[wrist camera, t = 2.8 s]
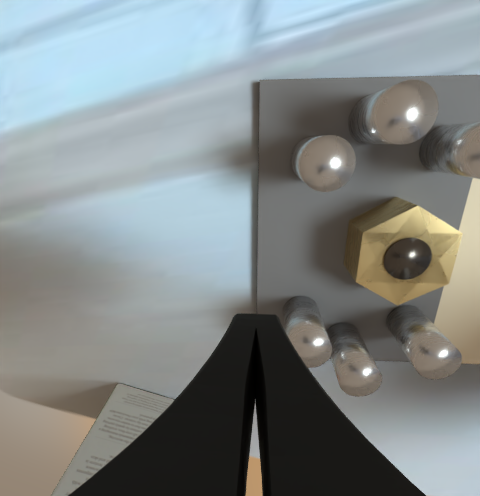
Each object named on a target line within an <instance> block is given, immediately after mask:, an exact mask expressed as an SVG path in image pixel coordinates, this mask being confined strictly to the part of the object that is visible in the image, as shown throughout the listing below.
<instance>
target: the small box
mask: <svg viewBox="0 0 480 496" xmlns="http://www.w3.org/2000/svg"><path fill="white" fill-rule="evenodd" d="M173 401H174V399H170V398H167V397H163V396H160V395H157V394H153V393H150V392H147V391H144V390H140V389H137V388H134V387H130V386H127V385H124V384H117V385H116V387H115V389H114V390H113V392H112V394H111V395H110V397H109V399H108V400H107V402H106V404H105V405H104V407H103V409H102V411H101V412H100V414H99V416H98V417H97V419H96V421H95V422H94V424H93V426H92V427H91V429H90V431H89V433H88V434H87V436H86V437H85V439H84V441H83V442H82V444H81V446H80V448H79V449H78V451H77V453H76V454H75V456H74V458H73V459H72V461H71V463H70V464H69V466H68V468H67V469H66V471H65V472H64V474H63V476H62V478H61V479H60V481H59V483H58V484H57V486H56V488H55V489H54V491H53V493H52V494H51V496H68V495H69V494H71V493H72V492H73V491H75V490H76V489H77V488H78V487H80V486H81V485H82V484H83V483H85V482H86V481H87V480H88V479H90V478H91V477H92V476H93V475H94V474H95V473H97V472H98V471H99V470H100V469H101V468H103V467H104V466H105V465H106V464H107V463H108V462H110V461H111V460H112V459H113V458H114V457H115V456H117V455H118V454H119V453H120V452H121V451H123V450H124V449H125V448H126V447H127V446H128V445H130V444H131V443H132V442H133V441H134V440H135V439H136V438H137V437H138V436H139V435H140V434H142V433H143V432H144V431H145V430H146V429H147V428H148V427H149V426H150V425H151V424H152V423H153V422H154V421H155V420H156V419H157V418H158V417H159V416H160V415H161V414H162V413H163V412H164V411H165V410H166V409H167V408H168V407H169V406H170V405H171V404H172V403H173Z"/></svg>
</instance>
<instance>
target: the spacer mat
mask: <svg viewBox="0 0 480 496" xmlns="http://www.w3.org/2000/svg"><path fill="white" fill-rule="evenodd" d="M412 79H415V80H421V81H424V82H426V83H428V84H429V85H430V86H431V87H432V88H433V89H434V90H435V92H436V94H437V97H438V103H439V109H438V114H437V118H436V120H435V122H434V124H433V126H432V127H431V129H430V130H429V131H428V132H427V133H426V134H425V135H424V136H423V137H422V138H420V139H418V140H417V141H415V142H412V143H409V144H365V143H361V142H359V141H357V140H356V139H355V138H354V137H353V136H352V135H351V133H350V131H349V126H348V120H349V115H350V112H351V110H352V109H353V107H354V106H355V104H356V103H357V102H358V101H360V100H361V99H362V98H364V97H366V96H369V95H371V94H374V93H376V92H378V91H381V90H383V89H386V88H388V87H391V86H393V85H395V84H398V83H400V82H403V81H406V80H412ZM476 122H480V75H455V76H411V77H367V78H324V79H280V80H260V101H259V179H258V257H257V314H272V315H277V316H278V317H279V319H280V322H281V324H282V326H283V328H284V330H285V323H284V316H283V307H284V305H285V303H286V302H287V301H288V300H289V299H291V298H293V297H295V296H307V297H310V298H311V299H313V300H314V301H315V302H316V304H317V306H318V309H319V312H320V314H321V317H322V320H323V323H324V326H325V328H326V330H327V329H328V328H329V327H330V326H331V325H333V324H335V323H339V322H347V323H351V324H353V325H354V326H355V327H356V328H357V329H358V331H359V333H360V335H361V337H362V339H363V341H364V343H365V344H366V346H367V348H368V350H369V352H370V354H371V356H372V358H373V360H376V361H404V362H411V361H410V360H409V359H408V357H407V356H406V354H405V353H404V351H403V350H402V348H401V347H400V345H399V344H398V343H397V341H396V340H395V338H394V337H393V335H392V334H391V332H390V331H389V329H388V328H387V326H386V317H387V315H388V314H389V312H390V311H391V310H393V309H394V308H396V307H398V306H401V305H413V306H415V307H417V308H419V309H420V310H421V311H422V313H423V314H424V315H425V316H426V317H427V318H428V319H429V320H430V321H431V322H432V323H433V324H434V325H435V326H436V327H437V328H438V329H439V330H440V331H441V332H442V333H443V334H444V336H445V337H446V338H447V339H448V340H449V341H450V342H451V343H452V344H453V345H454V346H455V347H456V348H457V349H458V350H459V351H460V353H461V355H462V363H461V364H480V179H477V178H471V177H465V176H459V175H453V174H447V173H442V172H436V171H431V170H428V169H427V168H425V167H424V166H423V165H422V163H421V161H420V158H419V149H420V145H421V143H422V141H423V139H424V138H425V136H426V135H427V134H428V133H429V132H431V131H432V130H433V129H435V128H437V127H439V126H443V125H453V124H464V123H476ZM325 135H335V136H339V137H342V138H343V139H345V140H346V141H348V142H349V143H350V145H351V146H352V148H353V150H354V152H355V157H356V165H355V169H354V172H353V174H352V176H351V178H350V179H349V181H348V182H347V183H346V184H345V185H343V186H342V187H341V188H339V189H337V190H334V191H331V192H320V191H316V190H314V189H312V188H310V187H309V186H308V185H307V184H306V183H304V182H303V181H302V180H301V179H300V178H299V177H298V176H297V175H296V174H295V173H294V172H293V170H292V167H291V163H290V158H291V153H292V151H293V149H294V147H295V146H296V145H297V143H299V142H300V141H301V140H303V139H305V138H307V137H313V136H325ZM394 197H398V198H401V199H403V200H406V201H408V202H411V203H413V204H416V205H418V206H420V207H421V208H423V209H424V210H426V211H428V212H429V213H431V214H432V215H434V216H436V217H437V218H439V219H440V220H442V221H444V222H445V223H447V224H448V225H450V226H452V227H453V228H455V229H456V230H458V231H460V232H461V233H463V235H462V238H461V242H460V246H459V249H458V253H457V257H456V260H455V264H454V268H453V271H452V275H451V279H450V282H449V284H448V285H445V286H443V287H440V288H438V289H436V290H433V291H431V292H428V293H426V294H424V295H421V296H419V297H417V298H414V299H412V300H409V301H407V302H405V303H402V304H400V305H395V304H394V303H392V302H390V301H388V300H387V299H385V298H383V297H381V296H380V295H378V294H376V293H374V292H373V291H371V290H369V289H367V288H365V287H364V286H362V285H360V284H358V283H357V282H355V280H354V279H353V277H352V276H351V274H350V273H349V271H348V270H347V268H346V267H345V266H344V256H345V248H346V240H347V233H348V225H349V220H351V219H353V218H355V217H357V216H359V215H361V214H363V213H364V212H366V211H368V210H370V209H372V208H374V207H376V206H378V205H380V204H382V203H384V202H386V201H388V200H390V199H392V198H394ZM285 332H286V330H285ZM329 359H331V358H329Z"/></svg>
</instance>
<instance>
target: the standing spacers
mask: <svg viewBox="0 0 480 496" xmlns="http://www.w3.org/2000/svg"><path fill="white" fill-rule="evenodd" d="M438 109H439V103H438V97H437V94H436V92H435V90H434V89H433V88H432V87H431V86H430V85H429V84H428V83H426V82H424V81H421V80H415V79H412V80H406V81H403V82H400V83H398V84H395V85H393V86H391V87H388V88H386V89H383V90H381V91H378V92H376V93H374V94H371V95H369V96H366V97H364V98H362V99H361V100H360V101H358V102H357V103H356V104H355V106H354V107H353V109H352V110H351V112H350V115H349V120H348V126H349V131H350V133H351V135H352V136H353V137H354V138H355V139H356V140H357V141H359V142H361V143H365V144H409V143H412V142H415V141H417V140H418V139H420V138H422V137H423V136H424V135H425V134H426V133H427V132H428V131H429V130H430V129H431V127H432V126H433V124H434V122H435V120H436V118H437V114H438ZM419 158H420V161H421V163H422V165H423V166H424V167H425V168H427V169H428V170H431V171H436V172H442V173H447V174H453V175H459V176H465V177H471V178H477V179H480V122H476V123H464V124H453V125H443V126H439V127H437V128H435V129H433V130H432V131H431V132H429V133H428V134H427V135H426V136H425V138H424V139H423V141H422V143H421V145H420V149H419ZM290 163H291V167H292V170H293V172H294V173H295V174H296V175H297V176H298V177H299V178H300V179H301V180H302V181H303V182H304V183H306V184H307V185H308V186H309V187H310V188H312V189H314V190H316V191H320V192H331V191H334V190H337V189H339V188H341V187H342V186H343V185H345V184H346V183H347V182H348V181H349V179H350V178H351V176H352V174H353V172H354V169H355V165H356V157H355V152H354V150H353V148H352V146H351V145H350V143H349V142H348V141H346V140H345V139H343V138H342V137H339V136H335V135H325V136H313V137H307V138H305V139H303V140H301V141H300V142H299V143H297V145H296V146H295V147H294V149H293V151H292V153H291V158H290ZM283 316H284V323H285V330H286V334H287V336H288V338H289V339H290V341H291V343H292V345H293V346H294V348H295V349H296V351H297V353H298V354H299V356H300V357H301V359H302V360H303V362H304V363H305V365H306V366H307V368H312V367H317V366H320V365H322V364H324V363H325V362H326V361H327V360H328V359H329V358H331V361H332V364H333V367H334V370H335V373H336V376H337V379H338V382H339V385H340V387H341V389H342V390H343V391H344V392H345V393H347V394H349V395H352V396H366V395H369V394H371V393H373V392H375V391H376V390H377V389H378V388H379V387H380V385H381V382H382V376H381V373H380V371H379V369H378V367H377V365H376V364H375V362H374V360H373V358H372V356H371V354H370V352H369V350H368V348H367V346H366V344H365V343H364V341H363V339H362V337H361V335H360V333H359V331H358V329H357V328H356V327H355V326H354V325H353V324H351V323H347V322H339V323H335V324H333V325H331V326H330V327H329V328H328V329H327V330H326V328H325V326H324V323H323V320H322V317H321V314H320V312H319V309H318V306H317V304H316V302H315V301H314V300H313V299H311V298H310V297H307V296H295V297H293V298H291V299H289V300H288V301H287V302H286V303H285V305H284V307H283ZM386 326H387V328H388V329H389V331H390V332H391V334H392V335H393V337H394V338H395V340H396V341H397V343H398V344H399V345H400V347H401V348H402V350H403V351H404V353H405V354H406V356H407V357H408V359H409V360H410V361H411V363H412V364H413V366H414V367H415V369H416V370H417V372H418V373H419V374H420V375H421V376H423V377H425V378H428V379H442V378H445V377H448V376H450V375H452V374H453V373H454V372H456V371H457V370H458V368H459V367H460V365H461V363H462V355H461V353H460V351H459V350H458V349H457V348H456V347H455V346H454V345H453V344H452V343H451V342H450V341H449V340H448V339H447V338H446V337H445V336H444V334H443V333H442V332H441V331H440V330H439V329H438V328H437V327H436V326H435V325H434V324H433V323H432V322H431V321H430V320H429V319H428V318H427V317H426V316H425V315H424V314H423V313H422V311H421V310H420V309H419V308H417V307H415V306H413V305H401V306H398V307H396V308H394V309H393V310H391V311H390V312H389V314H388V315H387V317H386Z"/></svg>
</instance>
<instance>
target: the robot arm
mask: <svg viewBox="0 0 480 496" xmlns="http://www.w3.org/2000/svg"><path fill="white" fill-rule="evenodd" d="M255 400H256V413H257V425H258V437H259V449H260V461H261V473H262V490H263V496H426V495H425V494H424V493H423V492H422V491H420V490H419V489H418V488H417V487H416V486H415V485H414V484H413V483H411V482H410V481H409V480H408V479H407V478H406V477H405V476H404V475H403V474H402V473H401V472H400V471H399V470H398V469H397V468H396V467H395V466H394V465H393V464H392V463H391V462H390V461H389V460H388V459H387V458H386V457H385V456H384V455H383V454H382V453H381V452H380V451H379V450H377V449H376V448H375V447H374V446H373V445H372V444H371V443H370V442H369V441H368V440H367V439H366V438H365V437H364V435H363V434H362V433H361V432H360V431H359V430H358V429H357V428H356V427H355V426H354V425H353V424H352V422H351V421H350V420H349V419H348V418H347V417H346V416H345V415H344V413H343V412H342V411H341V410H340V409H339V408H338V407H337V405H336V404H335V403H334V402H333V401H332V399H331V398H330V397H329V396H328V395H327V393H326V392H325V391H324V389H323V388H322V387H321V386H320V384H319V383H318V382H317V380H316V379H315V377H314V376H313V375H312V373H311V372H310V371H309V369H308V368H307V366H306V365H305V363H304V362H303V360H302V359H301V357H300V356H299V354H298V353H297V351H296V349H295V348H294V346H293V345H292V343H291V341H290V339H289V338H288V336H287V334H286V332H285V330H284V328H283V326H282V324H281V322H280V319H279V317H278V316H277V315H272V314H236V315H235V316H234V317H233V319H232V322H231V324H230V326H229V328H228V329H227V331H226V333H225V334H224V336H223V338H222V340H221V341H220V343H219V344H218V346H217V347H216V349H215V350H214V352H213V353H212V355H211V356H210V357H209V359H208V360H207V362H206V363H205V364H204V365H203V367H202V368H201V369H200V371H199V372H198V373H197V375H196V376H195V377H194V378H193V380H192V381H191V382H190V383H189V384H188V386H187V387H186V388H185V389H184V390H183V392H182V393H181V394H180V395H179V396H178V397H177V398H176V399H175V400H174V401H173V403H172V404H171V405H170V406H169V407H168V408H167V409H166V410H165V411H164V412H163V413H162V414H161V415H160V416H159V417H158V418H157V419H156V420H155V421H154V422H153V423H152V424H151V425H150V426H149V427H148V428H147V429H146V430H145V431H144V432H143V433H142V434H140V435H139V436H138V437H137V438H136V439H135V440H134V441H133V442H132V443H131V444H130V445H128V446H127V447H126V448H125V449H124V450H123V451H121V452H120V453H119V454H118V455H117V456H115V457H114V458H113V459H112V460H111V461H110V462H108V463H107V464H106V465H105V466H104V467H103V468H101V469H100V470H99V471H98V472H97V473H95V474H94V475H93V476H92V477H91V478H90V479H88V480H87V481H86V482H85V483H83V484H82V485H81V486H80V487H78V488H77V489H76V490H75V491H73V492H72V493H71V494H69V495H68V496H245V494H246V480H247V470H248V461H249V452H250V442H251V433H252V424H253V414H254V405H255Z"/></svg>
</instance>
